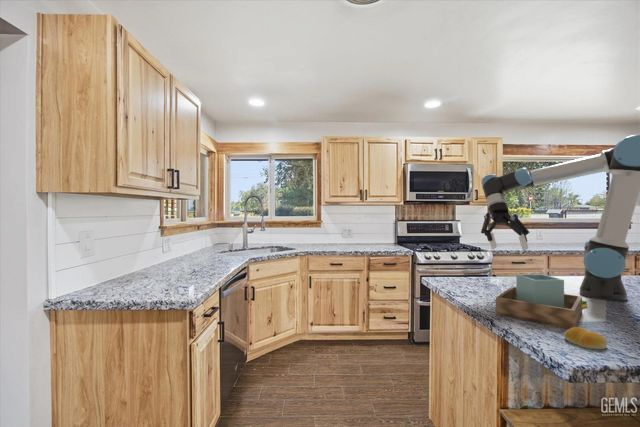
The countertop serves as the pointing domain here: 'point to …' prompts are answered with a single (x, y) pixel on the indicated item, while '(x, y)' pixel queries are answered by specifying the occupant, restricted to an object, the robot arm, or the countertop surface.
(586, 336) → the bread roll
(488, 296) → the countertop surface
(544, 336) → the countertop surface
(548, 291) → the small teal crate
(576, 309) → the big walnut crate
